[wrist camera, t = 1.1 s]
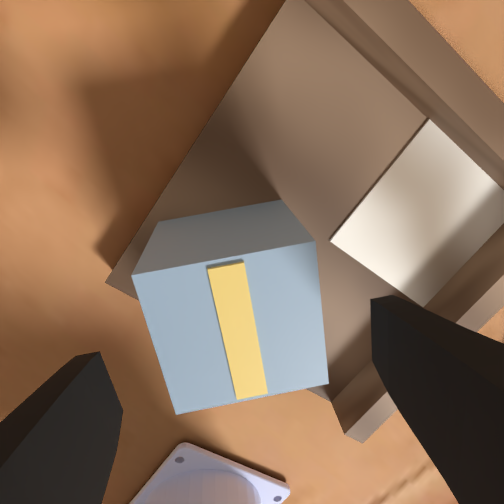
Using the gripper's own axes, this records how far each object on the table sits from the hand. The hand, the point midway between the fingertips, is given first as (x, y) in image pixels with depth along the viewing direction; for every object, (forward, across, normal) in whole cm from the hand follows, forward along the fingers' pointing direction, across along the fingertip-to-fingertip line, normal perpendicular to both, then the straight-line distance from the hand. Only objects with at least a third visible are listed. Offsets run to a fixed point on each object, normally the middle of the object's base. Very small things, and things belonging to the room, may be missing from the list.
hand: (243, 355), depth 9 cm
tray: (+7, -5, 0) cm, 9 cm away
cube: (+6, 0, 0) cm, 6 cm away
